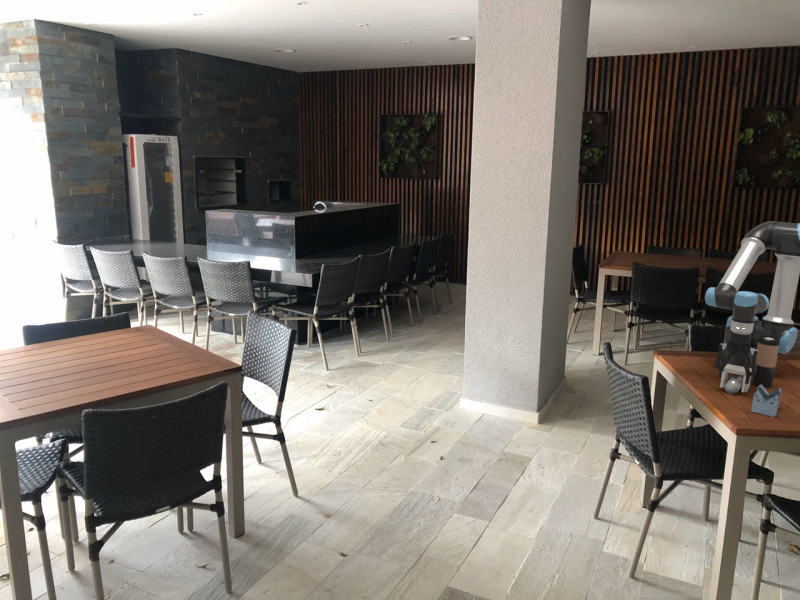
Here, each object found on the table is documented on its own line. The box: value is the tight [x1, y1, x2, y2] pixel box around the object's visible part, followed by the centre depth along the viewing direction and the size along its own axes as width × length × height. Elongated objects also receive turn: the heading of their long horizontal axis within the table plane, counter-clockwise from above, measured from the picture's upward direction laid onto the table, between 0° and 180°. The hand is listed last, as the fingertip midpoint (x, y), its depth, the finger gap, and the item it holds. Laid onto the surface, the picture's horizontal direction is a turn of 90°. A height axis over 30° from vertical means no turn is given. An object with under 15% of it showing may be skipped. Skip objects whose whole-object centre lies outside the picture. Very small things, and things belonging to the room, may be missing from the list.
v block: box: [750, 384, 782, 418], centre depth 234 cm, size 12×7×8 cm, turn 144°
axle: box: [724, 374, 743, 395], centre depth 254 cm, size 10×5×5 cm, turn 144°
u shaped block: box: [722, 364, 752, 393], centre depth 257 cm, size 7×9×8 cm
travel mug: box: [751, 335, 780, 389], centre depth 260 cm, size 8×8×20 cm
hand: (732, 388), depth 251 cm, fingers open, 7 cm apart
